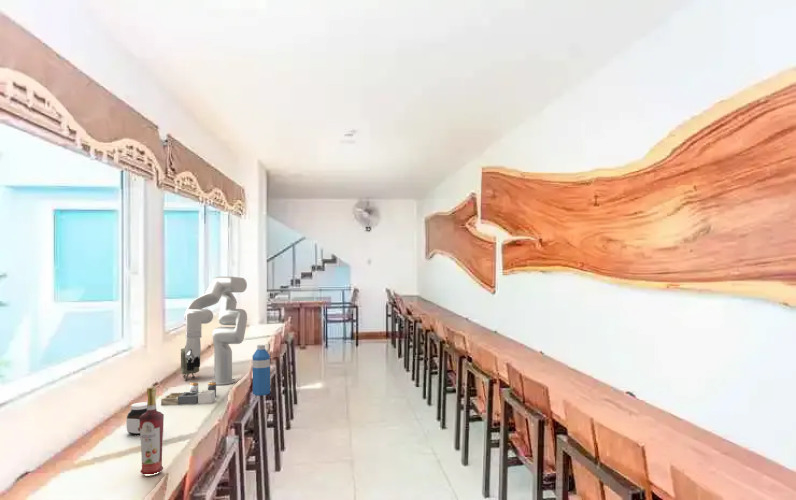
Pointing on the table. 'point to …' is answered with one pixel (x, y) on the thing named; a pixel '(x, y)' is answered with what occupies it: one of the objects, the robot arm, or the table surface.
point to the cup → (206, 397)
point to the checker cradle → (188, 398)
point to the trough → (170, 399)
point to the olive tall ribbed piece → (184, 365)
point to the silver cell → (194, 387)
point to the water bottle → (261, 371)
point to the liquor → (151, 436)
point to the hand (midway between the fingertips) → (193, 368)
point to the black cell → (212, 386)
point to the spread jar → (135, 417)
